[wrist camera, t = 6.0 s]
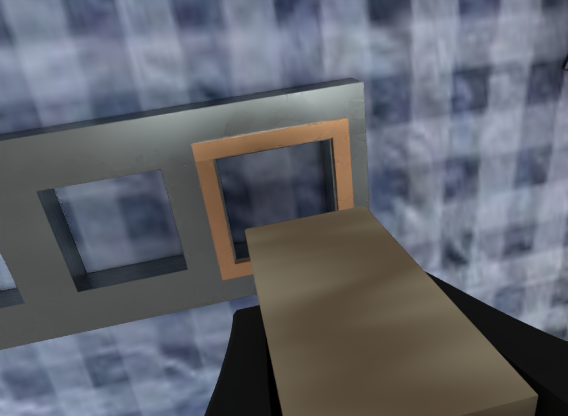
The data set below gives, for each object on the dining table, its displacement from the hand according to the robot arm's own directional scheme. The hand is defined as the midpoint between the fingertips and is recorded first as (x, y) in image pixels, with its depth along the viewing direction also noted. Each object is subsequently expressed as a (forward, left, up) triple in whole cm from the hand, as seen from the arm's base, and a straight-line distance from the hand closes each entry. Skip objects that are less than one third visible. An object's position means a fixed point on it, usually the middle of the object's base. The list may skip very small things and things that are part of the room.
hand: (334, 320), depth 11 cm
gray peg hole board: (+6, +3, -10) cm, 12 cm away
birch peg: (0, 0, -2) cm, 2 cm away
